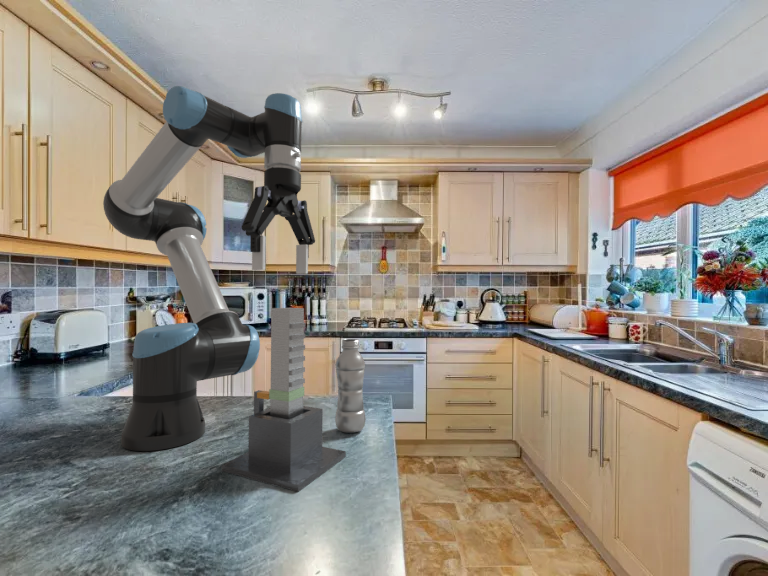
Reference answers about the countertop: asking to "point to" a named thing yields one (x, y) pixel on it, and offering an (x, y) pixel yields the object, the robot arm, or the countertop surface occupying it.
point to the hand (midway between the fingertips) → (281, 272)
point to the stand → (284, 448)
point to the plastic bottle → (350, 388)
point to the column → (287, 362)
